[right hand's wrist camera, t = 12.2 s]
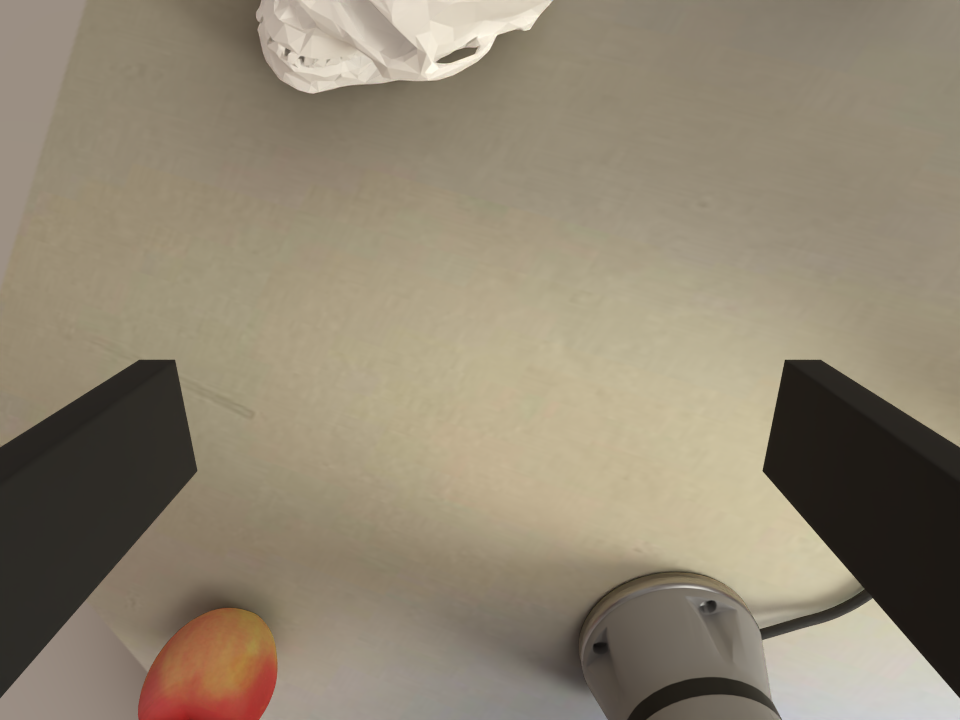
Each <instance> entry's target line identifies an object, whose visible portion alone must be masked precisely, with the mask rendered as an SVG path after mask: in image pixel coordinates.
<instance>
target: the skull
mask: <svg viewBox="0 0 960 720" xmlns="http://www.w3.org/2000/svg"><path fill="white" fill-rule="evenodd" d="M552 1H553V0H261V4H260V7H259V8H258V10H257V12H256V18H257V20H258V21H259V22H260V25H259V27H258V30H257V31H258V32H259V37H260V41H261V46H262V51H263V54H264V57H265V60H266V62H267V63H268V65H269V66H270V67H271V69H272V70H273V71H274V73H275V74H276V75H277V77H278V78H279V79H280V80H281V81H283V82H285V83H287V84H288V85H290V86H292V87H294V88H295V89H297V90H300V91H303V92H307V93H312V94H314V93H318V92H322V91H326V90H330V89H334V88H338V87H343V86H349V85H363V84H380V83H386V82H391V81H396V80H407V81H434V80H440V79H443V78H446V77H449V76H453V75H455V74H457V73H459V72H460V71H462V70H464V69H465V68H467V67H469V66H471V65H472V64H474V63H476V62H478V61H479V60H480V59H481V58H482V57H483V56H484V55H485V54H486V53H487V52H488V51H489V50H490V48H491V46H492V44H493V42H494V40H495V38H496V36H497V35H499V34H502V33H506V32H509V31H512V30H515V29H517V30H523V31H526V30H530V29H531V27H532V26H533V24H534V23H535V21H536V20H537V18H538V17H539V15H540V14H541V13H542V12H543V11H544V10H545V9H546V8H547V7H548V5H549V4H550V3H551V2H552ZM477 46H478V49H477V51H476V52H475V54H474V55H471V56H468V57H466V58H463V59H460V60H458V61H455V62H452V63H445V64H444V63H436V62H437V61H438V60H439V59H440V58H443V57H445V56H447V55H449V54H451V53H452V52H453V51H455V50H459V49H462V48H465V47H477Z"/></svg>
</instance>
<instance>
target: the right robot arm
mask: <svg viewBox="0 0 960 720" xmlns="http://www.w3.org/2000/svg"><path fill="white" fill-rule="evenodd" d="M196 472H197V467H196V462H195V457H194V452H193V447H192V442H191V437H190V432H189V427H188V422H187V417H186V412H185V407H184V402H183V397H182V392H181V387H180V382H179V377H178V372H177V367H176V362H175V360H138V361H137V362H135V363H134V364H132V365H130V366H129V367H127V368H126V369H124V370H122V371H121V372H119V373H118V374H116V375H115V376H113V377H111V378H110V379H108V380H107V381H105V382H103V383H102V384H100V385H99V386H97V387H95V388H94V389H92V390H91V391H89V392H88V393H86V394H84V395H83V396H81V397H80V398H78V399H76V400H75V401H73V402H72V403H70V404H68V405H67V406H65V407H64V408H62V409H61V410H59V411H57V412H56V413H54V414H53V415H51V416H49V417H48V418H46V419H45V420H43V421H41V422H40V423H38V424H37V425H35V426H34V427H32V428H30V429H29V430H27V431H26V432H24V433H22V434H21V435H19V436H18V437H16V438H15V439H13V440H11V441H10V442H8V443H7V444H5V445H3V446H2V447H0V698H1V697H2V696H3V694H4V693H5V692H6V691H7V690H8V689H9V687H10V686H11V685H12V684H13V683H14V682H15V681H16V679H17V678H18V677H19V676H20V675H21V674H22V672H23V671H24V670H25V669H26V668H27V667H28V666H29V664H30V663H31V662H32V661H33V660H34V659H35V658H36V656H37V655H38V654H39V653H40V652H41V651H42V649H43V648H44V647H45V646H46V645H47V644H48V643H49V641H50V640H51V639H52V638H53V637H54V636H55V634H56V633H57V632H58V631H59V630H60V629H61V628H62V626H63V625H64V624H65V623H66V622H67V621H68V619H69V618H70V617H71V616H72V615H73V614H74V613H75V611H76V610H77V609H78V608H79V607H80V606H81V604H82V603H83V602H84V601H85V600H86V599H87V598H88V596H89V595H90V594H91V593H92V592H93V591H94V590H95V588H96V587H97V586H98V585H99V584H100V583H101V581H102V580H103V579H104V578H105V577H106V576H107V575H108V573H109V572H110V571H111V570H112V569H113V568H114V566H115V565H116V564H117V563H118V562H119V561H120V560H121V558H122V557H123V556H124V555H125V554H126V553H127V551H128V550H129V549H130V548H131V547H132V546H133V545H134V543H135V542H136V541H137V540H138V539H139V538H140V537H141V535H142V534H143V533H144V532H145V531H146V530H147V528H148V527H149V526H150V525H151V524H152V523H153V522H154V520H155V519H156V518H157V517H158V516H159V515H160V513H161V512H162V511H163V510H164V509H165V508H166V507H167V505H168V504H169V503H170V502H171V501H172V500H173V498H174V497H175V496H176V495H177V494H178V493H179V492H180V490H181V489H182V488H183V487H184V486H185V485H186V484H187V482H188V481H189V480H190V479H191V478H192V477H193V475H194V474H195V473H196ZM763 472H764V473H765V474H766V475H767V477H768V478H769V479H770V480H771V481H772V482H773V484H774V485H775V486H776V487H777V488H778V489H779V490H780V492H781V493H782V494H783V495H784V496H785V497H786V498H787V500H788V501H789V502H790V503H791V504H792V505H793V507H794V508H795V509H796V510H797V511H798V512H799V513H800V515H801V516H802V517H803V518H804V519H805V520H806V522H807V523H808V524H809V525H810V526H811V527H812V528H813V530H814V531H815V532H816V533H817V534H818V535H819V537H820V538H821V539H822V540H823V541H824V542H825V543H826V545H827V546H828V547H829V548H830V549H831V550H832V551H833V553H834V554H835V555H836V556H837V557H838V558H839V560H840V561H841V562H842V563H843V564H844V565H845V566H846V568H847V569H848V570H849V571H850V572H851V573H852V575H853V576H854V577H855V578H856V579H857V580H858V581H859V583H860V584H861V585H862V586H863V587H864V588H865V590H863V591H862V592H860V593H859V594H857V595H856V596H854V597H852V598H851V599H849V600H847V601H845V602H844V603H841V604H839V605H837V606H835V607H833V608H830V609H828V610H825V611H822V612H819V613H815V614H812V615H808V616H804V617H800V618H797V619H793V620H790V621H786V622H783V623H780V624H776V625H773V626H769V627H766V628H763V629H759V627H758V625H757V623H756V622H755V620H754V618H753V616H752V615H751V613H750V611H749V609H748V608H747V606H746V604H745V603H744V601H743V600H742V599H741V598H740V597H739V595H738V594H737V593H735V592H734V591H733V590H732V589H731V588H729V587H728V586H726V585H725V584H723V583H721V582H719V581H717V580H714V579H712V578H709V577H706V576H703V575H698V574H693V573H685V572H667V573H658V574H653V575H648V576H645V577H641V578H638V579H635V580H632V581H630V582H628V583H626V584H624V585H622V586H620V587H618V588H616V589H615V590H613V591H612V592H610V593H609V594H608V595H606V596H605V597H604V598H603V599H602V600H601V601H599V602H598V603H597V604H596V606H595V607H594V608H593V609H592V610H591V612H590V613H589V615H588V616H587V618H586V620H585V622H584V624H583V626H582V629H581V632H580V637H579V655H580V660H581V665H582V671H583V675H584V678H585V681H586V683H587V685H588V687H589V689H590V690H591V692H592V694H593V695H594V697H595V699H596V700H597V702H598V704H599V705H600V707H601V709H602V710H603V712H604V714H605V715H606V717H607V719H608V720H782V719H781V717H780V715H779V713H778V711H777V710H776V708H775V706H774V704H773V702H772V698H771V692H770V686H769V680H768V673H767V667H766V661H765V655H764V649H763V643H762V640H764V639H767V638H771V637H774V636H778V635H781V634H785V633H788V632H791V631H795V630H798V629H801V628H805V627H809V626H813V625H816V624H820V623H824V622H827V621H830V620H833V619H835V618H838V617H840V616H842V615H844V614H846V613H848V612H850V611H852V610H854V609H856V608H858V607H860V606H861V605H863V604H864V603H866V602H868V601H869V600H871V599H872V598H873V599H874V600H875V601H876V602H877V603H878V605H879V606H880V607H881V608H882V609H883V610H884V611H885V613H886V614H887V615H888V616H889V617H890V618H891V619H892V621H893V622H894V623H895V624H896V625H897V626H898V628H899V629H900V630H901V631H902V632H903V633H904V634H905V636H906V637H907V638H908V639H909V640H910V641H911V643H912V644H913V645H914V646H915V647H916V648H917V649H918V651H919V652H920V653H921V654H922V655H923V656H924V658H925V659H926V660H927V661H928V662H929V663H930V664H931V666H932V667H933V668H934V669H935V670H936V671H937V672H938V674H939V675H940V676H941V677H942V678H943V679H944V681H945V682H946V683H947V684H948V685H949V686H950V687H951V689H952V690H953V691H954V692H955V693H956V694H957V696H958V697H959V698H960V447H958V446H957V445H955V444H953V443H952V442H950V441H949V440H947V439H945V438H944V437H942V436H941V435H939V434H938V433H936V432H934V431H933V430H931V429H930V428H928V427H926V426H925V425H923V424H922V423H920V422H919V421H917V420H915V419H914V418H912V417H911V416H909V415H907V414H906V413H904V412H903V411H901V410H899V409H898V408H896V407H895V406H893V405H892V404H890V403H888V402H887V401H885V400H884V399H882V398H880V397H879V396H877V395H876V394H874V393H872V392H871V391H869V390H868V389H866V388H865V387H863V386H861V385H860V384H858V383H857V382H855V381H853V380H852V379H850V378H849V377H847V376H845V375H844V374H842V373H841V372H839V371H838V370H836V369H834V368H833V367H831V366H830V365H828V364H826V363H825V362H823V361H822V360H785V362H784V367H783V372H782V377H781V382H780V387H779V392H778V397H777V402H776V407H775V412H774V417H773V422H772V427H771V432H770V437H769V442H768V447H767V452H766V457H765V462H764V467H763Z"/></svg>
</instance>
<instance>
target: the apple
mask: <svg viewBox="0 0 960 720" xmlns="http://www.w3.org/2000/svg"><path fill="white" fill-rule="evenodd" d="M276 679H277V655H276V647H275V642H274V639H273V636H272V633H271V631H270V629H269V628H268V626H267V625H266V623H265V622H264V621H263V620H262V619H261V618H260V617H259V616H258V615H256V614H255V613H252V612H250V611H246V610H242V609H237V608H221V609H216V610H212V611H209V612H207V613H204V614H202V615H200V616H199V617H197V618H195V619H193V620H192V621H190V622H189V623H187V624H186V625H185V626H184V627H182V628H181V629H180V630H179V631H178V632H177V633H176V634H175V635H174V636H173V637H172V638H171V639H170V640H169V641H168V642H167V644H166V645H165V646H164V647H163V649H162V650H161V651H160V653H159V654H158V656H157V657H156V659H155V661H154V662H153V664H152V666H151V668H150V670H149V672H148V674H147V676H146V679H145V682H144V684H143V687H142V691H141V695H140V700H139V705H138V717H139V720H259V719H260V718H261V716H262V714H263V713H264V711H265V709H266V708H267V706H268V704H269V702H270V699H271V697H272V694H273V691H274V688H275V684H276Z"/></svg>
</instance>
